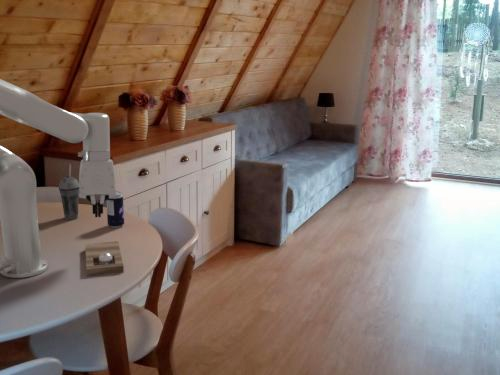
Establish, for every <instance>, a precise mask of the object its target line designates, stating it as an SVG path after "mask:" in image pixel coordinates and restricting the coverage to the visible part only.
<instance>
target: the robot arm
mask: <svg viewBox="0 0 500 375" xmlns="http://www.w3.org/2000/svg"><path fill="white" fill-rule="evenodd" d="M0 115H1V116H3V117H6V118H8V119H11V120H13V121H15V122H17V123H20V124H23V125H26V126H29V127H32V128H34V129H36V130H39V131H41V132H44V133H46V134H48V135H51V136H53V137H56V138H58V139H59V140H62V141H65V142H68V143H70V144H79V143H81V142H82V150H81V151H78V152H77V157H80V158H82V159H81V160H80V163H79V164H80V165H79V175H78V176H79V177H78V183H79V198H80V199H86V200H87V201H88V202H89V203H91V205H92V206H91V207H92V215H94V217H95V218H102V215H103V214H104V203H106V200H107V199H108V198H111V197H115V196H116V192H115V191H116V176H115V175H116V174H115V166H114V161H113V159H111V144H110V143H111V139H110V137H111V135H110V134H111V133H110V127H111V126H110V124H111V123H110V121H111V120H110V117H109V115H108V114H106V113H103V112H88V113H79V112H69V111H67V110H65V109H63V108H60V107H58V106H57V105H55V104H51V103H50V102H48V101H46V100H44V99H42V98H41V97H39V96H37V95H36V94H34V93H32V92H30V91H28V90H26V89H24V88H22V87H19V86H17V85H16V84H15V85H14V84H12V83H10V82H8V81H6V80H4V79H2V78H0ZM36 178H37V177H36V174H35V172H34V170H33V168H32V167H31V166H30V165H29V164H28V163H27V162H26V161H25V160H24V159H22V158H21V157H20V156H18V155H16V154H15V153H14V152H12V151H10V150H9V149H7V148H5V147H3V146H2V145H0V228H1V235H2V243H3V244H2V245H3V253H4V257H3V258H1V262H0V274H1V275H2V276H4V277H6V278H11V279H15V278H16V279H21V278H29V277H33V276H36V275H38V274H41V273H43V272H44V271H46V270H47V269H48V267H49V264H48V261H47V259H45V258H42V252H41V251H42V250H41V249H42V248H41V241H40V240H41V239H40V229H39V218H38V206H37V179H36ZM95 196H99V199H98V202H97V200H96V197H95Z"/></svg>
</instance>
